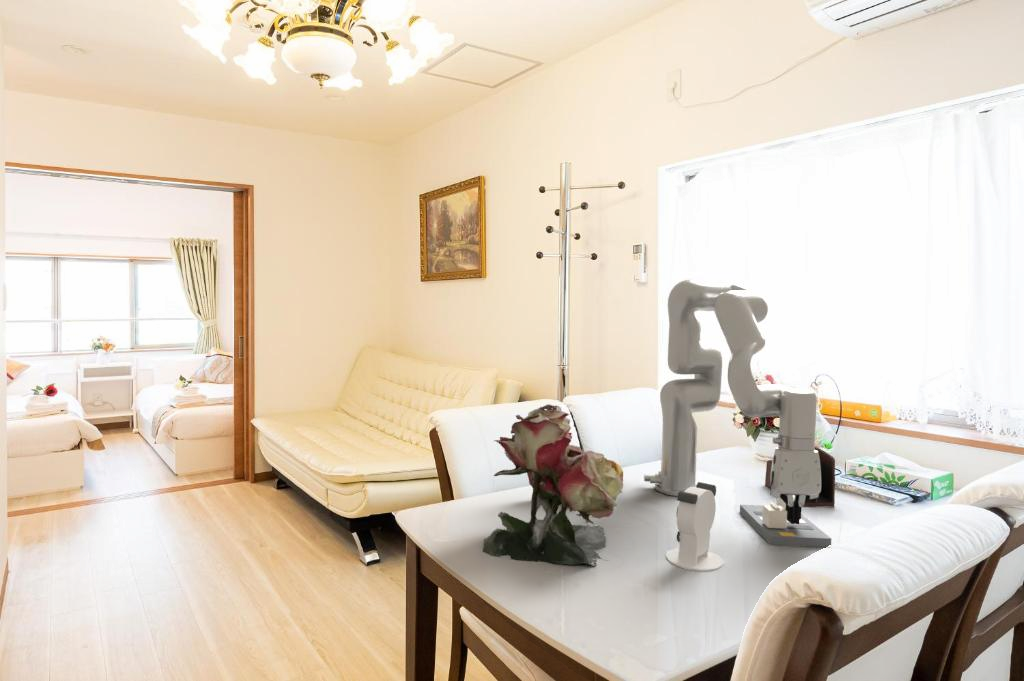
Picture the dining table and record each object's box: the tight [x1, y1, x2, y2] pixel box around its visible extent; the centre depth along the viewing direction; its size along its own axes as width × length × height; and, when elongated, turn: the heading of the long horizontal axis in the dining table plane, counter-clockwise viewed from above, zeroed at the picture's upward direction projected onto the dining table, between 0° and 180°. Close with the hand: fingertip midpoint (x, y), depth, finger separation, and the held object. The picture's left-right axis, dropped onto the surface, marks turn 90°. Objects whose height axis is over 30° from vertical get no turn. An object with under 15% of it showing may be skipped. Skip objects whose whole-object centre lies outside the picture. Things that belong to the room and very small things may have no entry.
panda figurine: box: [665, 481, 724, 572], centre depth 132 cm, size 12×11×15 cm
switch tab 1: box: [762, 502, 787, 529], centre depth 147 cm, size 4×4×5 cm
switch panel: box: [739, 504, 832, 548], centre depth 152 cm, size 13×22×2 cm, turn 178°
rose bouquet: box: [482, 404, 624, 567], centre depth 140 cm, size 26×29×30 cm
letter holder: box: [764, 446, 836, 507], centre depth 179 cm, size 10×20×14 cm, turn 4°
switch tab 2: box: [776, 495, 795, 510], centre depth 156 cm, size 4×4×5 cm
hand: (792, 521), depth 147 cm, fingers closed
